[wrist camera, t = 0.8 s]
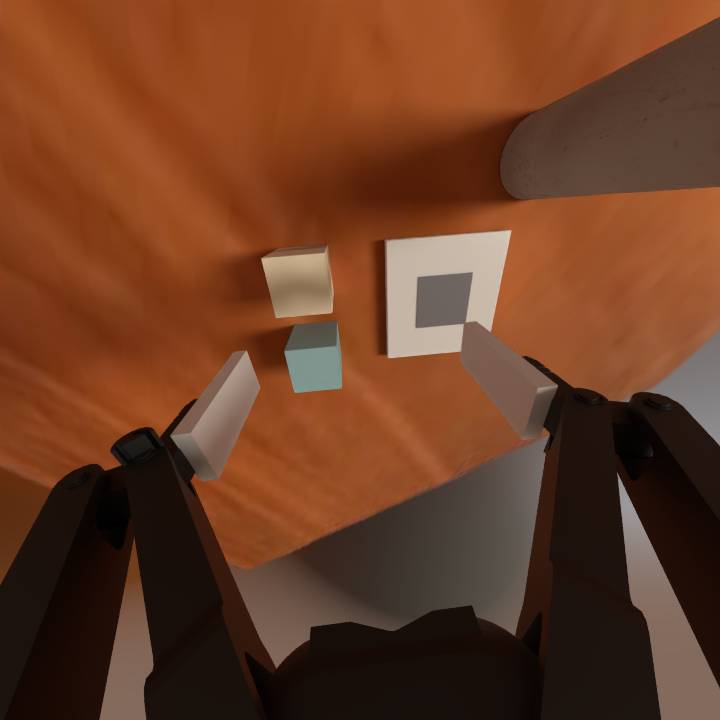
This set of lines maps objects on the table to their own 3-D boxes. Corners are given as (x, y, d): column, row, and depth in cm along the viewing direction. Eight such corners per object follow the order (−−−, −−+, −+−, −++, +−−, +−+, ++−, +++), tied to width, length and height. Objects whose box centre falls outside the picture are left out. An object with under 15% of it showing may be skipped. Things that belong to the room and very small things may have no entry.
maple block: (278, 248, 31) (261, 258, 24) (327, 244, 31) (324, 253, 24) (288, 296, 34) (275, 317, 27) (333, 292, 34) (332, 312, 27)
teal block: (294, 324, 36) (284, 351, 29) (336, 320, 36) (336, 346, 29) (302, 361, 39) (294, 392, 32) (341, 357, 39) (341, 388, 32)
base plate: (384, 239, 31) (386, 240, 30) (504, 229, 32) (511, 230, 30) (386, 353, 40) (388, 358, 38) (482, 344, 40) (487, 349, 38)
